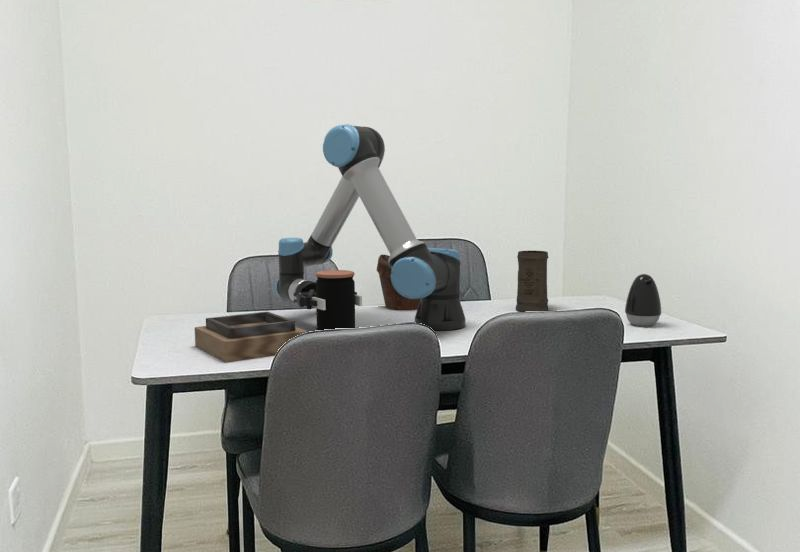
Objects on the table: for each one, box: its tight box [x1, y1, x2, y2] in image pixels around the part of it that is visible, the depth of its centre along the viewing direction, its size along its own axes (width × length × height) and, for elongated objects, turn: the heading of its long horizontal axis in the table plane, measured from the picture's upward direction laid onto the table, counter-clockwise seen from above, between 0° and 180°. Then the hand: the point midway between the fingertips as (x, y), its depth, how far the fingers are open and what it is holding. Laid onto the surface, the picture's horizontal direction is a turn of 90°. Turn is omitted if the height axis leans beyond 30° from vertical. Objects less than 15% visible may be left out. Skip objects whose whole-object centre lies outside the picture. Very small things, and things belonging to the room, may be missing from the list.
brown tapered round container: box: [376, 254, 420, 311], centre depth 257 cm, size 18×20×18 cm
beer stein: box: [515, 250, 549, 313], centre depth 251 cm, size 15×11×20 cm
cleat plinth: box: [194, 311, 309, 363], centre depth 196 cm, size 22×22×8 cm
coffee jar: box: [315, 269, 356, 331], centre depth 209 cm, size 11×11×18 cm
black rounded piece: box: [624, 273, 662, 328], centre depth 223 cm, size 10×10×15 cm
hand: (342, 303), depth 205 cm, fingers closed on coffee jar, 11 cm apart
